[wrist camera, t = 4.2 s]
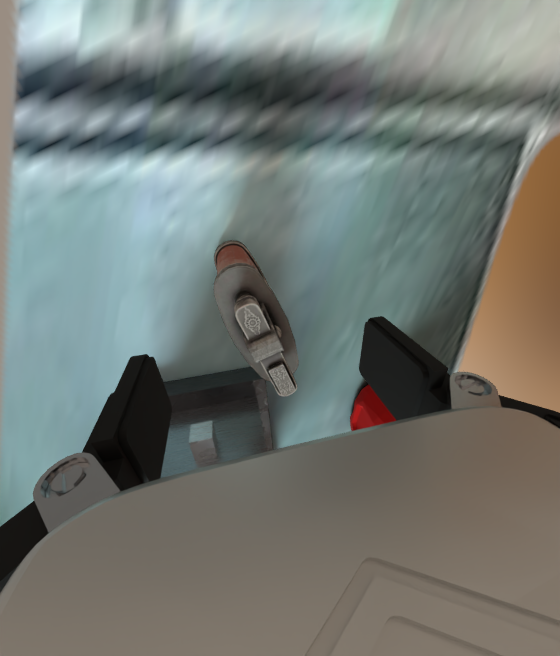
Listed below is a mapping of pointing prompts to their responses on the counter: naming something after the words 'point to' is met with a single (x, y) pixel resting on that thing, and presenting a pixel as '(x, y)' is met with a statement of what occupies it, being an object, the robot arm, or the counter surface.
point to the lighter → (254, 317)
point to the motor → (216, 420)
